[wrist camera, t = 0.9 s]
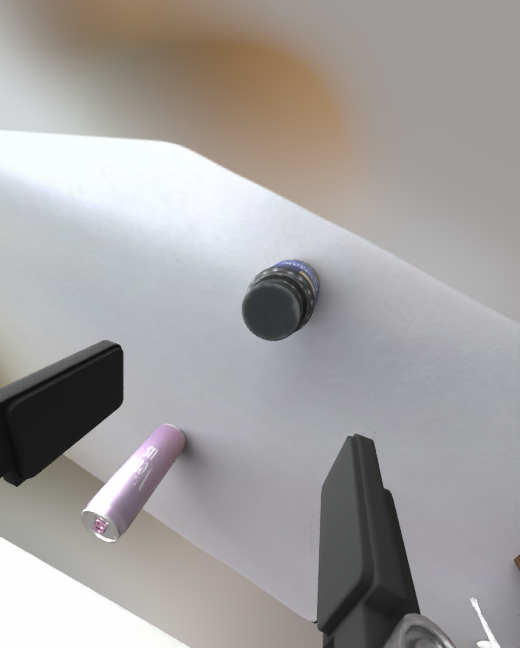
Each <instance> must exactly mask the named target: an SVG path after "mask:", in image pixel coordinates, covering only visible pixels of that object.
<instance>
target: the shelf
mask: <svg viewBox="0 0 520 648" xmlns="http://www.w3.org/2000/svg"><path fill="white" fill-rule="evenodd" d="M514 561H515V563H516V565H517V566H518V568H519V570H520V555H519V556H518V557H517V558H516V559H514Z"/></svg>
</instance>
